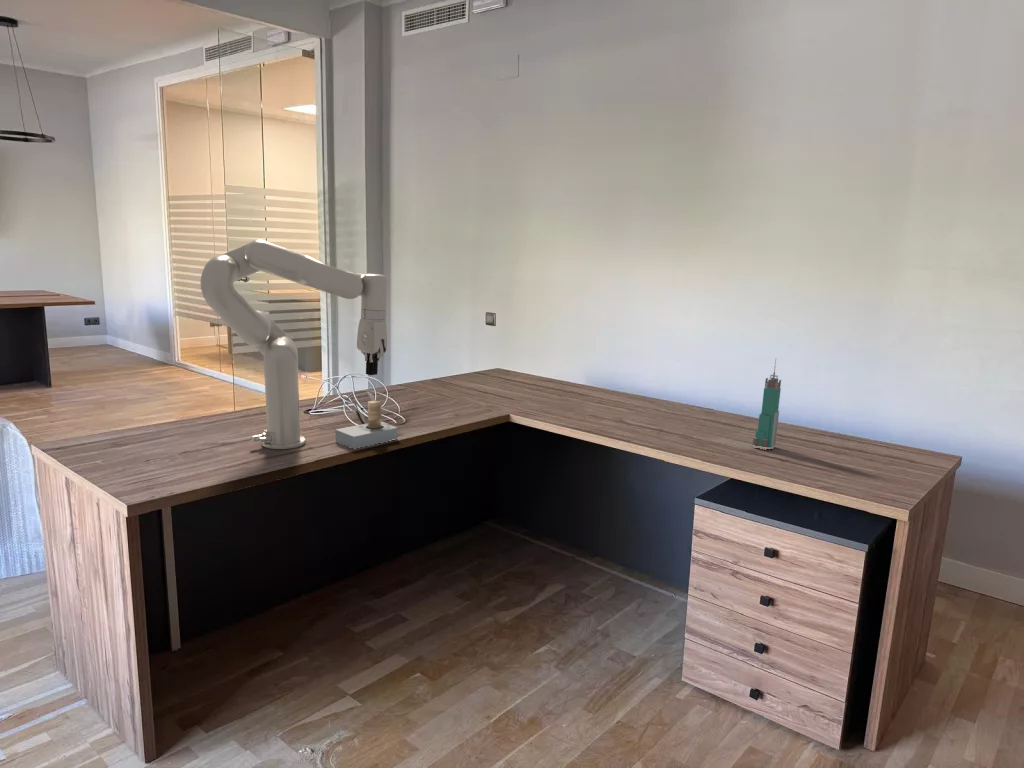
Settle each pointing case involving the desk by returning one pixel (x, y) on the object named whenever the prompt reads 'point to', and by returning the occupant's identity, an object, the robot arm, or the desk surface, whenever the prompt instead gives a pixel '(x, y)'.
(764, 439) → the building
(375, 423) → the peg
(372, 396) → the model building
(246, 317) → the robot arm
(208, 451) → the desk surface
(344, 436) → the board
